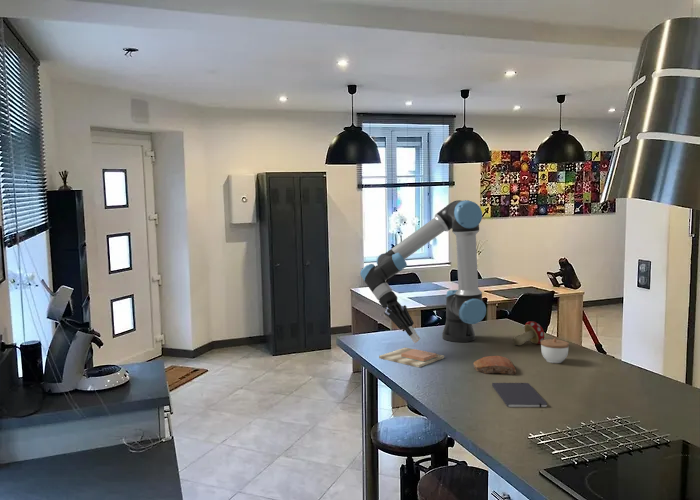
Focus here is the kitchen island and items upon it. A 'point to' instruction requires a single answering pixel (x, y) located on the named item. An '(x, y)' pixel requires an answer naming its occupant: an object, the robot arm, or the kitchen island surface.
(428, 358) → the tile
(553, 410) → the kitchen island surface
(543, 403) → the notebook
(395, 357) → the board
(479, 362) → the ceramic shard
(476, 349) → the kitchen island surface
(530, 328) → the decorative mushroom
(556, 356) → the lidded jar
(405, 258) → the robot arm
